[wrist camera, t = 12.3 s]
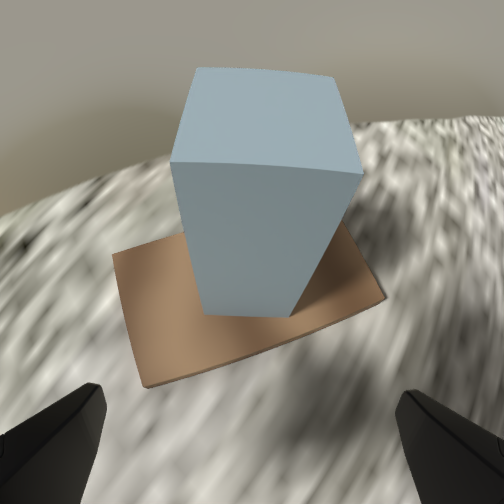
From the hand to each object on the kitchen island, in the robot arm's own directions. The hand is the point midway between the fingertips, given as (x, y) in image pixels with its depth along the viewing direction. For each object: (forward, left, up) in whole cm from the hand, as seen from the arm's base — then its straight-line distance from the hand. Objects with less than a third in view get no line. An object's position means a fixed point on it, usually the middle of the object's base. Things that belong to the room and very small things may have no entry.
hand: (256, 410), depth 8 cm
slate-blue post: (+7, -4, -9) cm, 12 cm away
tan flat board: (+7, -4, -10) cm, 13 cm away
